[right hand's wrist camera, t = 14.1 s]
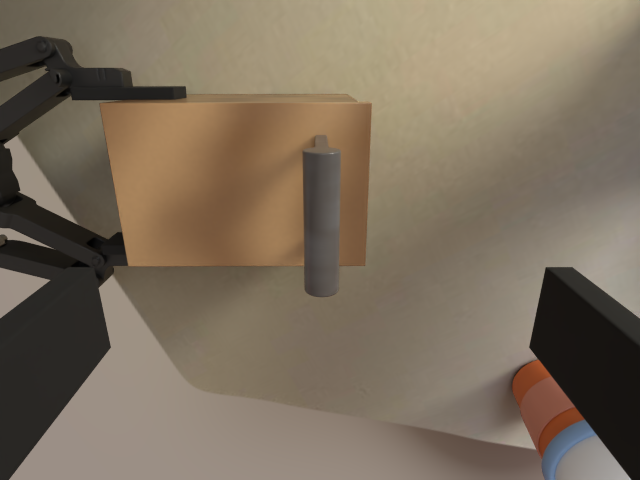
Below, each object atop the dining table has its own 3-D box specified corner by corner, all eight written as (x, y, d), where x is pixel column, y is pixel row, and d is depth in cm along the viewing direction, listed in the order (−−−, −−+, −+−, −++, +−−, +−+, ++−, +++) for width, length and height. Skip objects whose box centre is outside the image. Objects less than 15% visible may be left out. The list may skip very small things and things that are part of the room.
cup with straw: (496, 420, 47) (595, 613, 30) (497, 350, 43) (609, 524, 27) (581, 411, 46) (730, 602, 29) (589, 340, 43) (761, 510, 26)
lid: (369, 101, 25) (391, 113, 17) (363, 259, 28) (379, 326, 21) (107, 102, 25) (14, 113, 17) (134, 259, 28) (67, 327, 21)
